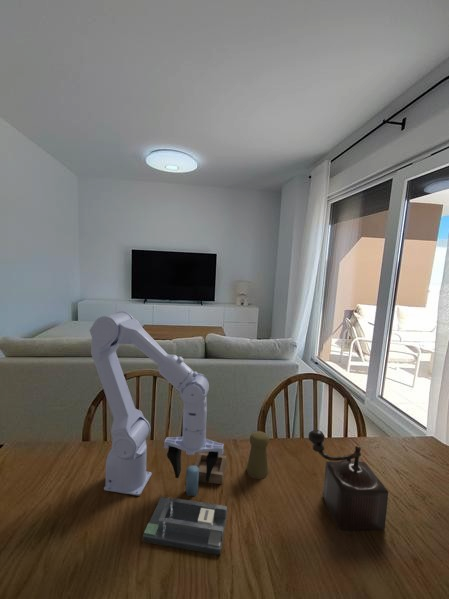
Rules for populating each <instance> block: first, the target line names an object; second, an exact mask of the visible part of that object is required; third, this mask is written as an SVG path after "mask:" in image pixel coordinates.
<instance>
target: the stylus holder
mask: <svg viewBox="0 0 449 599" xmlns="http://www.w3.org/2000/svg"><path fill="white" fill-rule="evenodd" d="M208 453H209V452H200V453H197V454H198V455H197V458H196V460H195V463H194V464H193V465H194V466H197V467H198V468H199V479H198V482H204V483H207V482H206V473H207V465H206V459H207V455H208ZM226 466H227V455H222V456H220V455H218V458H217V461H216V463H215V465H214V467H213V469H212V471H211V474H210V480H209V482H208V483H210V484H218V485H223V482H224V481H223V480H224V475H225V471H226Z"/></svg>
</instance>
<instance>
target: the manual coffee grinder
mask: <svg viewBox="0 0 449 599" xmlns="http://www.w3.org/2000/svg"><path fill="white" fill-rule="evenodd" d="M325 439H326V436H325V434H324V432H323V431H321V430H319V429H312V430H311V431H310V432H308V441H310V442H311V444H312V450H313V451H314V452H316V453H318V454H319V455H320V456H322V458H324V459H326V460H328V461H326V462H325V470H324V481H323V483H324V484H323V492H322V494H321V495H322V497H323V500H324V503H325V505H326V506H327V508H328V511H329V513H330V515H331V518H333V520H334V522H335V524H336V525H337V527H338V528H339V530H340V531H345V532H369V531H381V530H385V529H386V526H385V525H386V517H387V510H388V498H389V490H388V489H387V488H386V486H385V485H384V484H383V483H382V481H381V480H380V479H379V478H378V477H377V475H376V474H375V473H374V472H373V470H372V469H371V468H370V467H369V465H368V464H367V463H366V462H365V461H360V457H362V453H361V450H362V449H361V446H360V445H356V446H355V447H354V449H355V450H354V451H353V453H350V454H348V455H342V456H339V455H338V456H330V455H328V454H326V453H325V452H324V450H325V446H324V442H325ZM352 459H354V460H352Z"/></svg>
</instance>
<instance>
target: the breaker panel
mask: <svg viewBox="0 0 449 599" xmlns="http://www.w3.org/2000/svg"><path fill="white" fill-rule="evenodd" d="M201 508H206V509H212V510H215V511H214V521H213V525H208V524H202V523H198V518H199V514H200V510H201ZM227 516H228V507H227V506H226V505H221V504H214V503H209V502H201V501H196V500H195V501H193V500H188V499H181V498H176V497H175V498H173V497H170V496H168V497H162V496H161V497H160V498H159V500H158V502H157V505H156V507H155V509H154V511H153V514H152V515H151V516H150V517H151V518H150V519H149V522H148V523H147V525H146V527H145V530H144V532H143V535H142V542H144V543H148V544H155V545H158V546H159V545H161V546H166V547H171V548H177V549H184V550H188V551H194V552H200V553H204V554H205V553H206V554H211V555H217V556H221V555H222V554H221V553H222V548H223V547H222V546H223V541H224V535H225V528H226V521H227V518H228V517H227Z"/></svg>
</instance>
